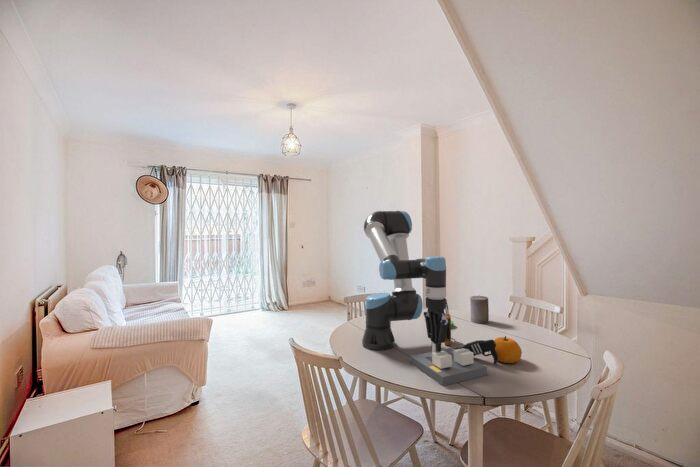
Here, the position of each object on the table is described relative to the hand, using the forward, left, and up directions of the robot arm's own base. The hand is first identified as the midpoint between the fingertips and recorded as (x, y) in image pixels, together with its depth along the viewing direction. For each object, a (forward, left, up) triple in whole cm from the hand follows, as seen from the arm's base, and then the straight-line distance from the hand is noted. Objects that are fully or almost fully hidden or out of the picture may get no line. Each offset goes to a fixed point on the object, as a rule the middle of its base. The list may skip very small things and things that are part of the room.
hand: (436, 358), depth 122 cm
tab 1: (+3, 0, -1) cm, 3 cm away
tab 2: (+5, +9, -1) cm, 10 cm away
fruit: (+4, +32, -5) cm, 32 cm away
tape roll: (-43, +38, -5) cm, 58 cm away
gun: (-2, +22, -5) cm, 22 cm away
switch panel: (+1, +5, -4) cm, 6 cm away
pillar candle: (-41, +62, -5) cm, 74 cm away
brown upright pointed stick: (-19, +26, -5) cm, 32 cm away
